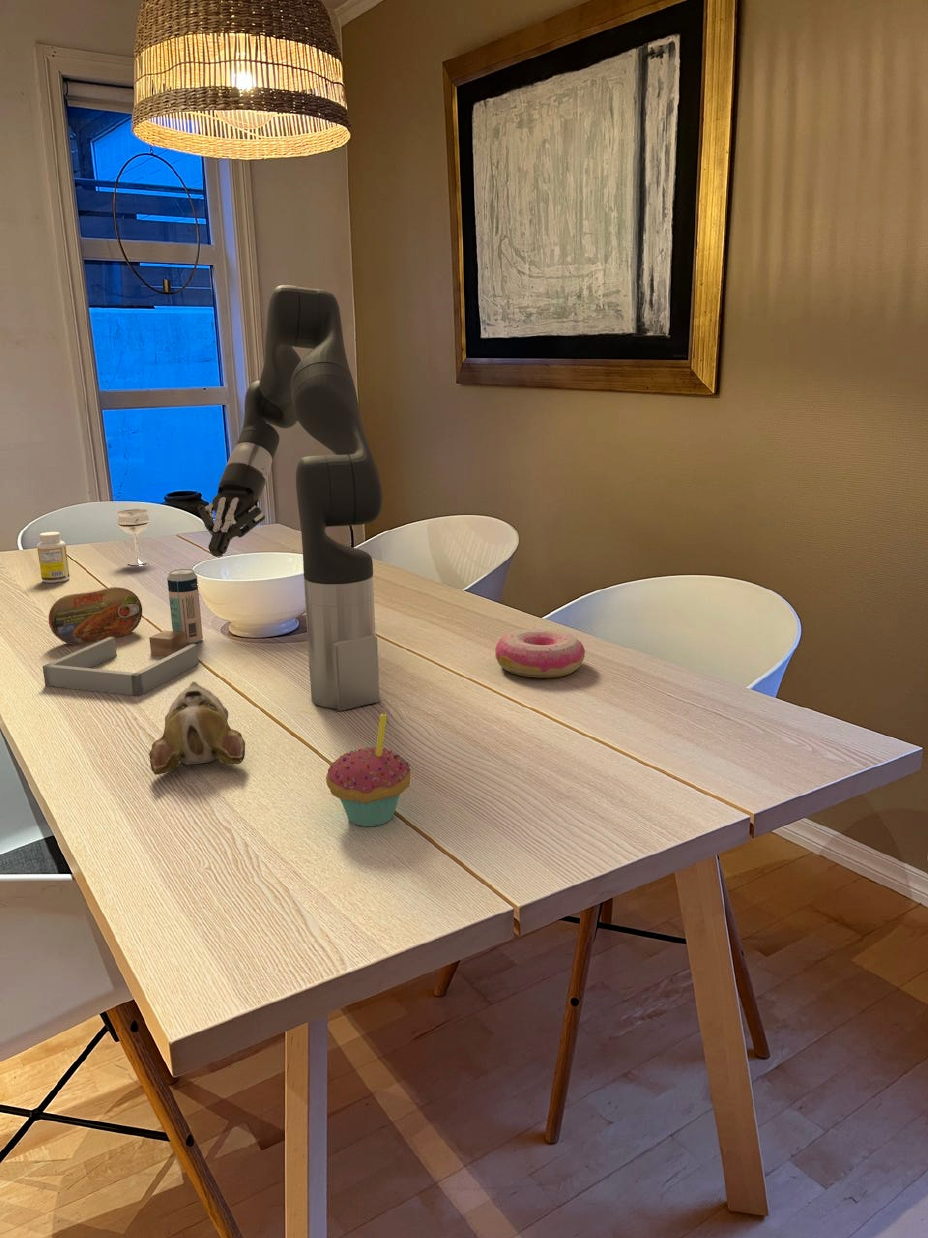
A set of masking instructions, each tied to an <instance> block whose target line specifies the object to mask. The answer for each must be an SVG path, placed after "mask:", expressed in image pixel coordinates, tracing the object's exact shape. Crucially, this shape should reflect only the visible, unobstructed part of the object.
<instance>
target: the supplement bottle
mask: <svg viewBox="0 0 928 1238" xmlns="http://www.w3.org/2000/svg"><path fill="white" fill-rule="evenodd" d="M61 538H62V537H61V533H60V532H59V531H48V532H42V533H39V541H40V542H39V543H37V545H36V548H37V549H36V551H37V555H38V562H39V570H40V575H41V580H42V581H43V582H44V583H47V584H54V583H55V584H56V583H57V582H58V583H63V582H66V581H68V580H69V579H70V578H71V577H70V568H69V561H68V560H69V559H68V554H67V546H66V542H65V541H63V540H62V539H61Z"/></svg>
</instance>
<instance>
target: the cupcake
mask: <svg viewBox="0 0 928 1238" xmlns="http://www.w3.org/2000/svg"><path fill="white" fill-rule="evenodd" d="M386 712H387V706H385V707H384V709H383V713H380V715H379V722H378V723H379V724H378V730H377V731H378V732H377V738H376V745H375V746H370V747H368V746H367V747H365V748H364V749H363V748H362V749H361V748H360V749H357V750H351V751H348V752H346V753H344V754H343V755H340V756H339V757H338V758H337V759H336V760H334V761H333V762H332V763H331V764H330V766H329V768H328V769H327V773H326V777H325V781H326V785H327V788H328V789H329V791H330V794H331V795H332V796H334V797H335V798H337V799H339V800H340V802H341V804H342V806H343V809H344V812H345V814H346V817H347V819H348V820H349V822H351V823H352V824H354V825H356V826H360V827H374V826H375V827H377V826H381V825H384V824H386V823H387V822H389V821H391V820H392V819H393V817H394V816H395V811H396V808H397V805H398V802H399V798H400V796H401V794H402V793H403V794H404V792H405V790H406V789H408V788H409V786H410V783H411V768H410V767H411V765H410V763H408V762H407V761H406V759H403V757H401V756H400V754H397V753H394V752H393V751H392V750H389V749H386V748H385V747H384V741H385V734H386V733H385V732H386V725H387V714H386Z"/></svg>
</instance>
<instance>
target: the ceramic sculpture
mask: <svg viewBox="0 0 928 1238" xmlns="http://www.w3.org/2000/svg"><path fill="white" fill-rule="evenodd" d="M228 719H229V711H228V709H227V708H226V707H225V706H224V704H223V703H222V701H221V700H220V699H219V698H218V696H216V695H215V694H214V693H213V692H212V691H211V690H209V689H206V688H205V687H203V686H201V685H199V683H197V681H192V682H191V683H190V685H188V686H187V688H185V689H184V690H183V691H181V692H179V694H178V695H177V697H176V698H175V699H174V700H173V701H172V703H171V705H170V707H169V710H168V712H167V714H165V717H164V728H163V729H164V730H163V734H162V736H161V737H159V739H156V740H155V741H154V742H153V743H152V745H151V749H150V751H149V753H148V756H149V757H148V758H149V764H150V768H151V769H150V770H151V771H152V772H153V774H154V775H161V774H162V775H163V774H167V773H169V772H171V771H174V770H176V769H177V767H179V765H180V762H181V763H182V764H185V765H199V764H208V763H211V762H213V761H214V760H216V759H217V761H220V762H221V763H223V764H226V765H240V764H242V762H243V761H244V759H245V756H246V754H245V753H246V741H245V739H244V738H243V737H242V733H241V732H239V731H237V730H235V729H233V728H231V727H230V725H229V722H228Z"/></svg>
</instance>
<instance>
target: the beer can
mask: <svg viewBox="0 0 928 1238" xmlns="http://www.w3.org/2000/svg"><path fill="white" fill-rule="evenodd" d="M166 580H167V587H168V588H167V590H168V599H169V609H170V618H171V625H172V626H171V628H172V631H176V632H186V642H187V646H189V645H191V644H195V645H196V644H198V643H199V642H201V641H202V640H203V639H204V637H203V627H202V624H203V623H202V616H201V606H200V605H201V604H200V593H199V583H198V575H197V573H196V571H195V570H194V569H191V568H179V569H178V568H177V569H173V570H170V571H169V573H168V576H167V578H166ZM197 584H198V585H197Z"/></svg>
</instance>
